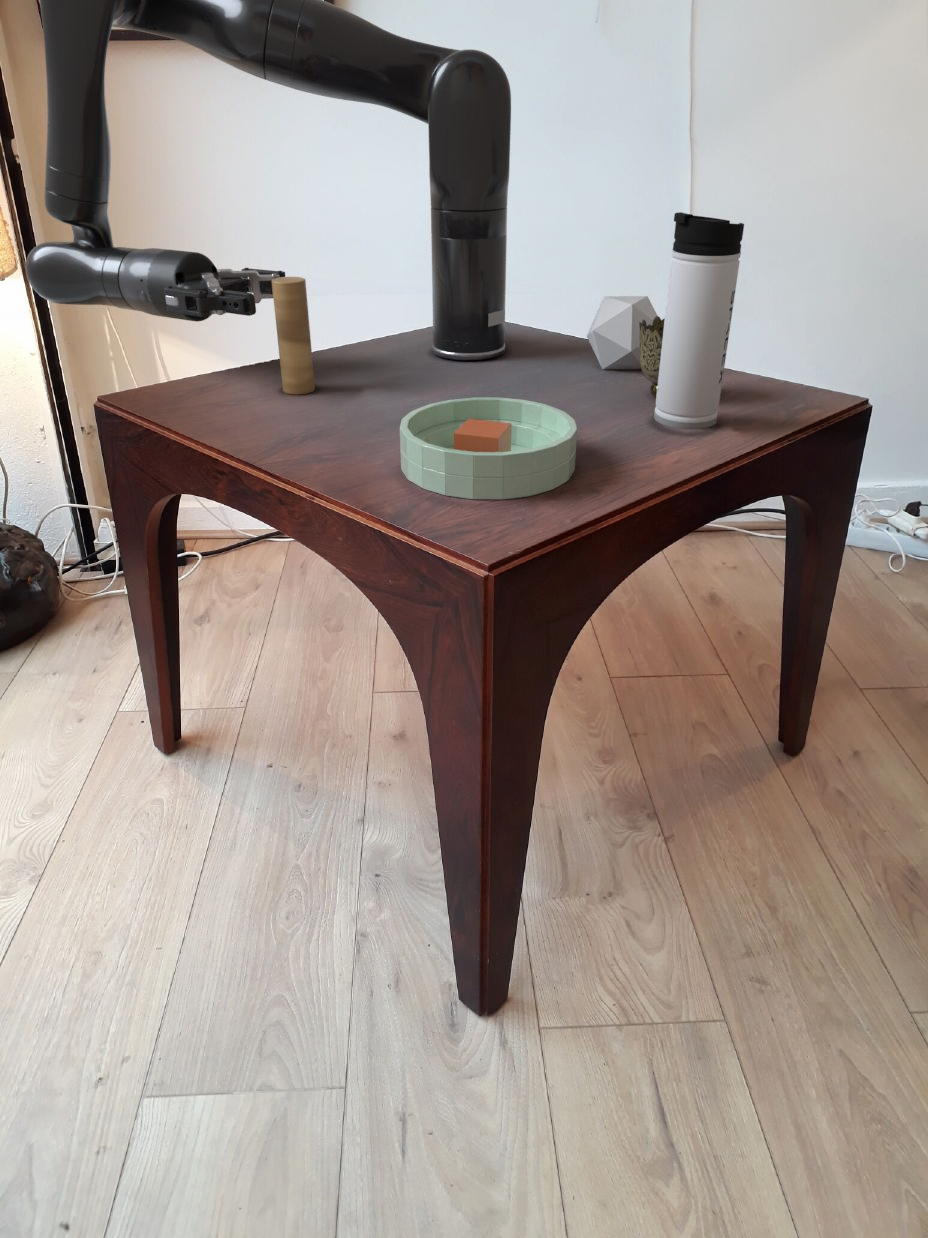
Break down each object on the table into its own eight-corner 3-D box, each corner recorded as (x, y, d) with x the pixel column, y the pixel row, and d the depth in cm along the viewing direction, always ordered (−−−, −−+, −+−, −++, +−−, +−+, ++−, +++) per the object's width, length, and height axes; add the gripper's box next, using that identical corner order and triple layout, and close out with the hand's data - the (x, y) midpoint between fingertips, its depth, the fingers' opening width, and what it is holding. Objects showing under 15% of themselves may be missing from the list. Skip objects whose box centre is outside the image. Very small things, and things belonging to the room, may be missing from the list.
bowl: (437, 435, 90) (436, 390, 88) (589, 453, 86) (593, 406, 84) (374, 492, 78) (371, 442, 75) (549, 516, 73) (552, 464, 71)
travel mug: (639, 418, 95) (660, 209, 84) (693, 411, 97) (720, 206, 86) (671, 437, 90) (697, 217, 79) (728, 429, 92) (760, 214, 81)
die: (640, 386, 107) (687, 310, 106) (576, 344, 106) (623, 268, 105) (626, 391, 116) (670, 321, 114) (567, 353, 115) (610, 282, 113)
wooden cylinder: (292, 384, 106) (281, 275, 99) (320, 387, 104) (311, 277, 98) (277, 392, 103) (265, 281, 96) (305, 395, 102) (295, 283, 95)
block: (468, 461, 83) (468, 418, 80) (510, 466, 81) (511, 423, 79) (453, 476, 79) (453, 432, 77) (497, 482, 78) (498, 437, 76)
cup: (667, 410, 97) (676, 334, 93) (618, 394, 102) (625, 321, 98) (714, 398, 101) (724, 324, 97) (664, 382, 106) (672, 312, 102)
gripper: (116, 258, 99) (230, 271, 92) (207, 241, 109) (316, 251, 103) (129, 329, 102) (240, 346, 96) (216, 305, 113) (321, 319, 106)
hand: (279, 297), depth 99 cm, fingers open, 8 cm apart
